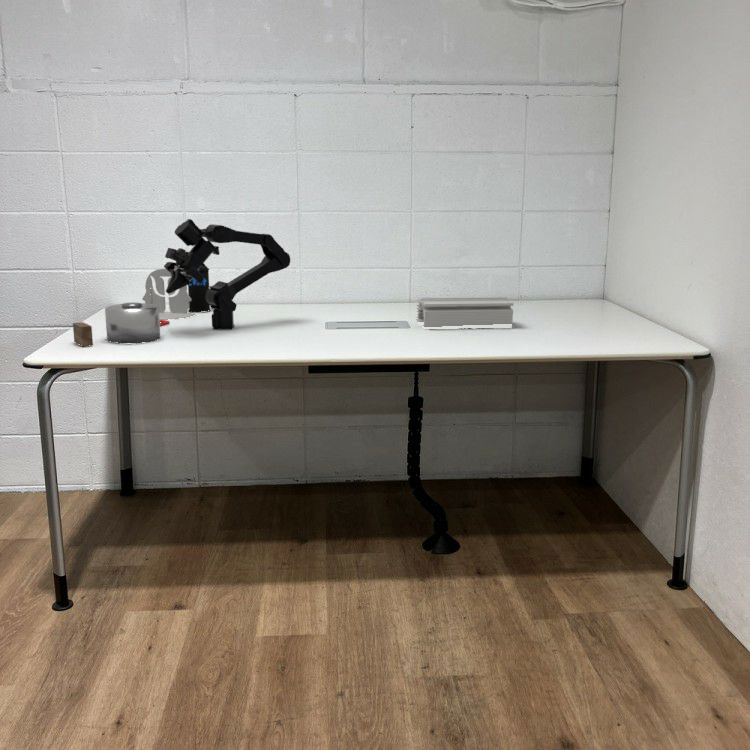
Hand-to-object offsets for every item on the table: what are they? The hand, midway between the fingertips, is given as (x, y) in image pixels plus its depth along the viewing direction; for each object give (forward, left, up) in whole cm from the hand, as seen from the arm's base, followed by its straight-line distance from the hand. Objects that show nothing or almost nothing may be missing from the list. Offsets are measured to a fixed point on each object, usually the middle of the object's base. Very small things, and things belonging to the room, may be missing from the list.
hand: (167, 292), depth 253 cm
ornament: (+10, -33, -14) cm, 37 cm away
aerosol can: (-2, -46, -14) cm, 48 cm away
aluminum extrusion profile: (-98, -17, -14) cm, 100 cm away
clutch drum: (+10, +7, -14) cm, 18 cm away
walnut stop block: (+22, +16, -13) cm, 30 cm away
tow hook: (+8, -18, -14) cm, 24 cm away
